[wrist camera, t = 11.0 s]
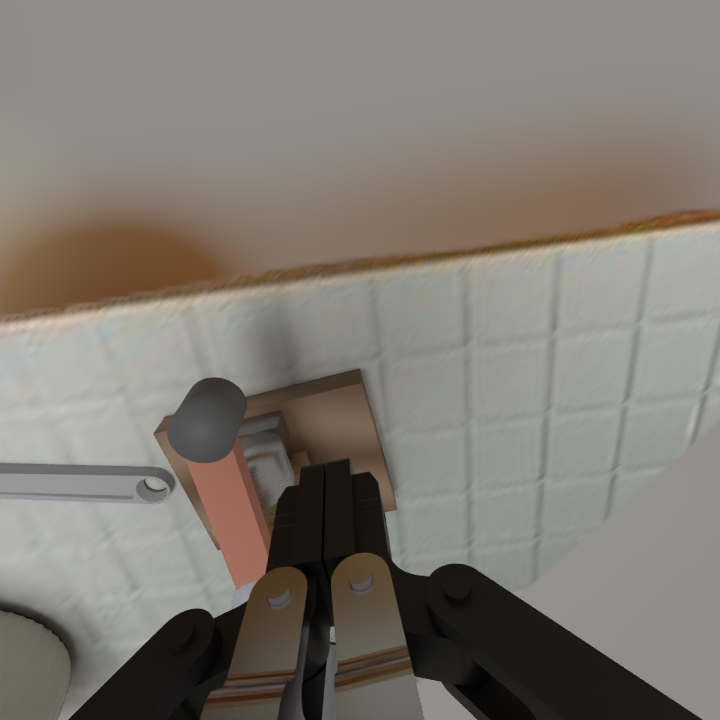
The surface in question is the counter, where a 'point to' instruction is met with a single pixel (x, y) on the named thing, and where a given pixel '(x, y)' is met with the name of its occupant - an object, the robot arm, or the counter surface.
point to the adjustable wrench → (83, 483)
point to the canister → (31, 670)
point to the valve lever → (223, 477)
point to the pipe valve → (270, 460)
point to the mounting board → (310, 431)
